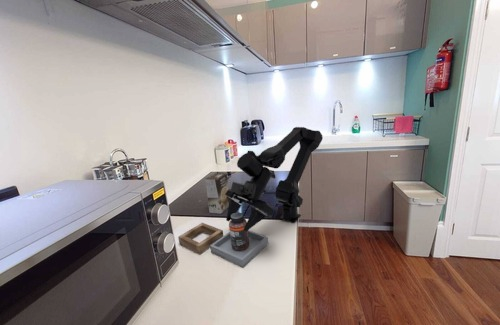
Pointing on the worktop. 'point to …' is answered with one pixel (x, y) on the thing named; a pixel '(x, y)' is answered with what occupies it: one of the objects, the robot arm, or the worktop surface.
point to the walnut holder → (203, 245)
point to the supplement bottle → (238, 232)
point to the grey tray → (239, 257)
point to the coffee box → (217, 192)
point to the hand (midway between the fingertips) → (235, 225)
